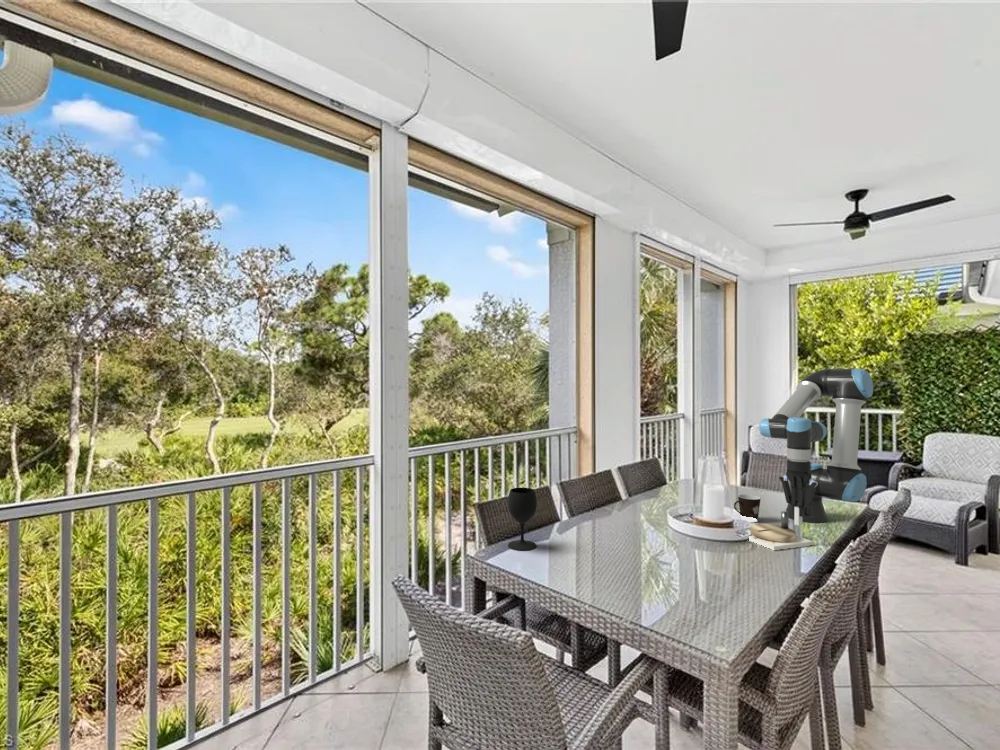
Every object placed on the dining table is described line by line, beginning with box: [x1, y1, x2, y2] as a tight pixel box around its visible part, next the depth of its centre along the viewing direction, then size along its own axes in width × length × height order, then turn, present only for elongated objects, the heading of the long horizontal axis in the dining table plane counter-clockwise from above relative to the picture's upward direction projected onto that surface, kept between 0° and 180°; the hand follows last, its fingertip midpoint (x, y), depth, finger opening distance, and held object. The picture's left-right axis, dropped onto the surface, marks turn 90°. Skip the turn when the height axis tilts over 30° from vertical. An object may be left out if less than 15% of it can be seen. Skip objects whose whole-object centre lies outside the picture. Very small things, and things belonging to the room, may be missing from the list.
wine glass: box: [507, 487, 538, 552], centre depth 179 cm, size 10×10×20 cm
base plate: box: [748, 535, 814, 551], centre depth 186 cm, size 18×18×2 cm
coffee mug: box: [733, 494, 762, 520], centre depth 211 cm, size 12×9×10 cm
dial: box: [749, 510, 797, 542], centre depth 186 cm, size 15×15×8 cm
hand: (798, 524), depth 183 cm, fingers closed
